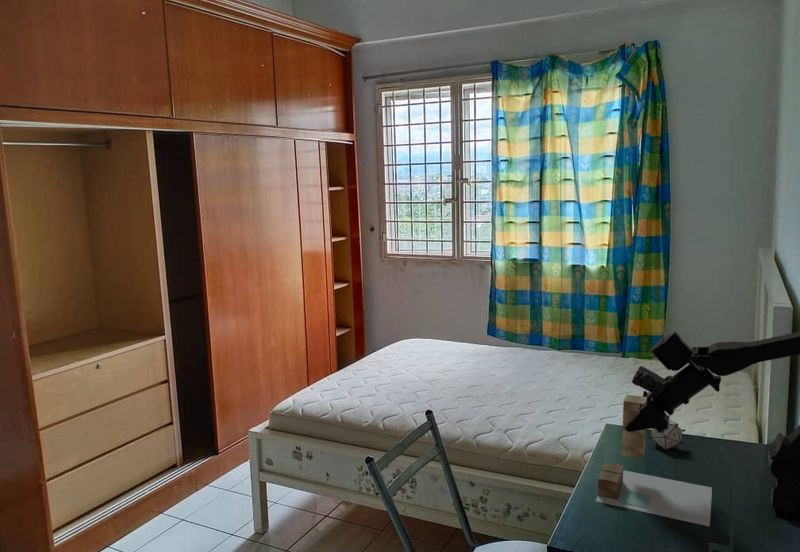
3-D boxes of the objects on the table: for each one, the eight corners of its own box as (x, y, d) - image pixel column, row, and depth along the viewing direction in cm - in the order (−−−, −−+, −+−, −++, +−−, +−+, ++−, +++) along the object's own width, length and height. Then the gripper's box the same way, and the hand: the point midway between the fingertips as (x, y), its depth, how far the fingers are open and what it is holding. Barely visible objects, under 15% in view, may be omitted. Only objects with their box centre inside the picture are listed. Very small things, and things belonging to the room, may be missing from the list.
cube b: (622, 482, 141) (623, 465, 140) (620, 490, 137) (620, 473, 137) (604, 478, 143) (605, 462, 142) (601, 486, 139) (602, 469, 139)
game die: (659, 463, 159) (637, 435, 158) (663, 440, 166) (642, 413, 164) (693, 456, 154) (670, 426, 152) (695, 432, 160) (674, 404, 159)
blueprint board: (711, 491, 138) (712, 487, 138) (709, 530, 123) (709, 525, 123) (608, 471, 148) (609, 466, 148) (595, 505, 133) (595, 500, 133)
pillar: (644, 451, 143) (647, 397, 141) (642, 459, 139) (645, 403, 137) (624, 447, 145) (626, 394, 143) (621, 455, 141) (623, 400, 139)
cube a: (619, 491, 137) (620, 474, 136) (616, 499, 134) (617, 482, 133) (601, 487, 139) (601, 470, 138) (597, 495, 135) (598, 478, 135)
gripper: (659, 346, 145) (608, 385, 151) (653, 370, 128) (596, 412, 135) (694, 383, 143) (641, 421, 149) (693, 411, 126) (633, 453, 133)
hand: (627, 425), depth 141 cm, fingers closed on pillar, 4 cm apart
